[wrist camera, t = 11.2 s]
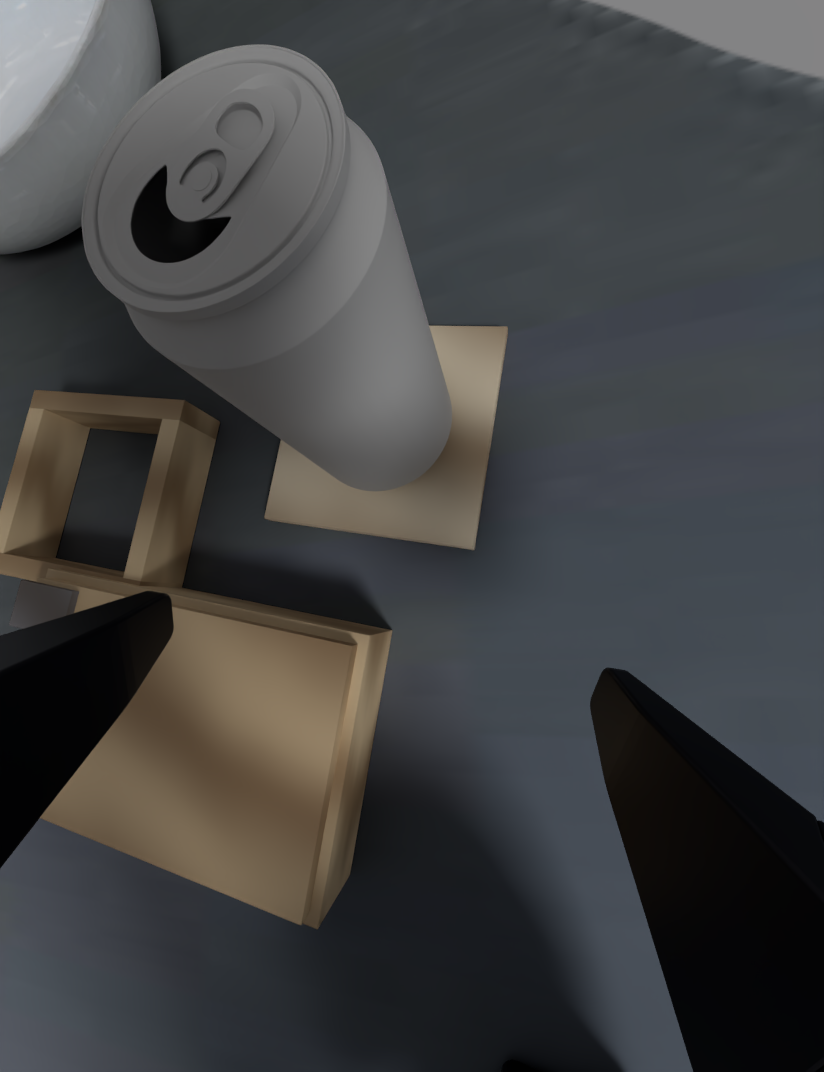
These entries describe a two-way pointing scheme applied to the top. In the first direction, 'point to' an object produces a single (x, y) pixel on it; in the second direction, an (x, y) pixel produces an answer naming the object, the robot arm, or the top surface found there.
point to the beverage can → (272, 261)
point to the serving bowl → (64, 104)
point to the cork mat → (437, 495)
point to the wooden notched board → (200, 681)
